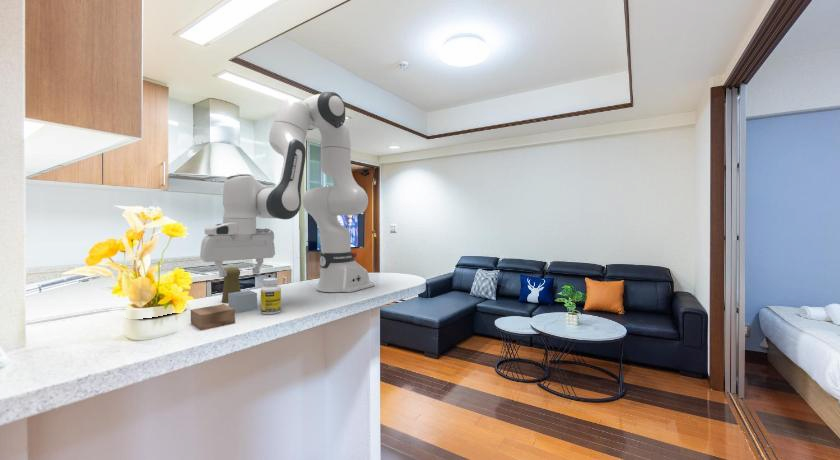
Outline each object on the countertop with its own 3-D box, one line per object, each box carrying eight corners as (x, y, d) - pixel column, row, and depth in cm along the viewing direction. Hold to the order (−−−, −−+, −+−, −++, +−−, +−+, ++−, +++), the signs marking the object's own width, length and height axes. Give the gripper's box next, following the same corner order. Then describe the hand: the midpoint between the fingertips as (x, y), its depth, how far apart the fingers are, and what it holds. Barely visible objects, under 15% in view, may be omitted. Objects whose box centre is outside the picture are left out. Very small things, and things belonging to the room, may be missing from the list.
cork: (246, 298, 121) (245, 266, 121) (235, 303, 115) (234, 269, 115) (229, 298, 122) (228, 266, 122) (217, 302, 116) (216, 269, 116)
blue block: (249, 306, 112) (248, 290, 112) (257, 309, 108) (256, 293, 108) (228, 309, 108) (228, 293, 108) (236, 313, 104) (235, 296, 103)
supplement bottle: (264, 316, 100) (263, 281, 100) (258, 312, 104) (257, 278, 104) (283, 312, 104) (283, 279, 103) (277, 309, 108) (277, 276, 108)
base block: (224, 318, 99) (223, 304, 99) (235, 324, 94) (234, 308, 94) (190, 324, 93) (190, 309, 93) (200, 331, 88) (200, 315, 88)
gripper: (269, 228, 117) (269, 270, 117) (198, 228, 101) (198, 277, 102) (278, 228, 112) (278, 272, 112) (205, 228, 97) (205, 279, 97)
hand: (240, 275), depth 107 cm, fingers open, 8 cm apart
